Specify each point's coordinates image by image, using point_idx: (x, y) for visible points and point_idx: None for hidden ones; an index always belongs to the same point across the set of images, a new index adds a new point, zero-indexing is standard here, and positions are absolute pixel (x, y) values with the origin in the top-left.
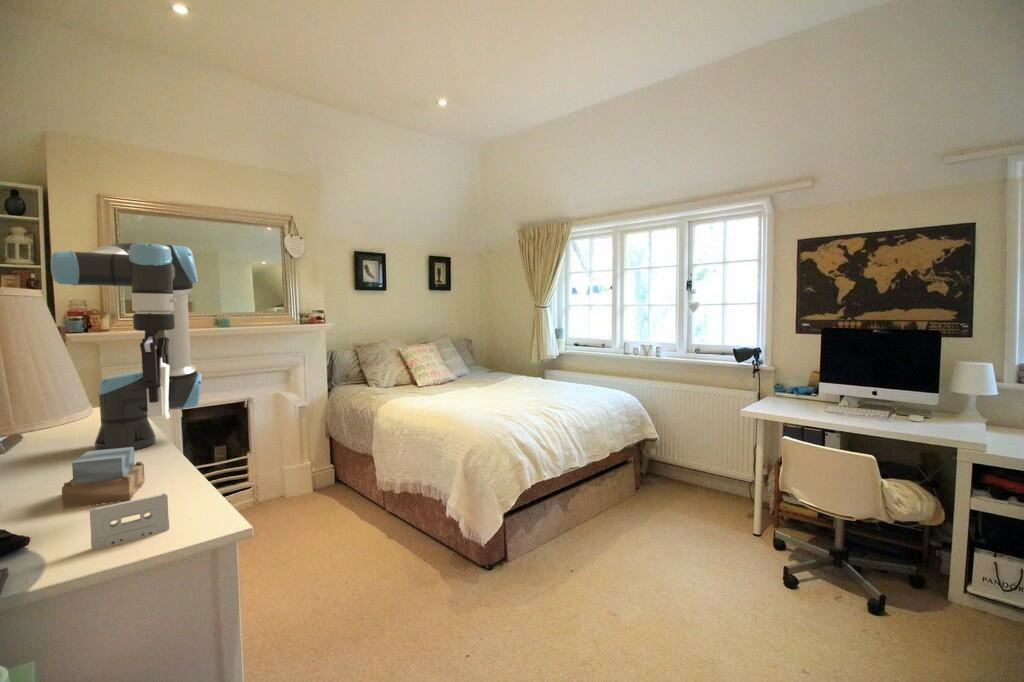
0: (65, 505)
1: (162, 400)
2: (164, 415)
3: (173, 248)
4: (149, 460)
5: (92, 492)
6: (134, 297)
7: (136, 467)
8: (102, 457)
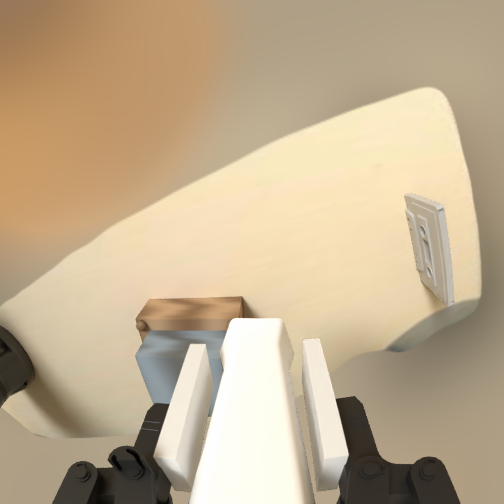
0: None
1: (316, 390)
2: (282, 336)
3: None
4: (50, 317)
5: None
6: None
7: (158, 325)
8: None
